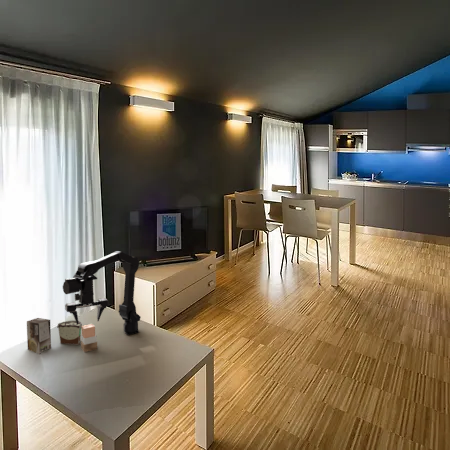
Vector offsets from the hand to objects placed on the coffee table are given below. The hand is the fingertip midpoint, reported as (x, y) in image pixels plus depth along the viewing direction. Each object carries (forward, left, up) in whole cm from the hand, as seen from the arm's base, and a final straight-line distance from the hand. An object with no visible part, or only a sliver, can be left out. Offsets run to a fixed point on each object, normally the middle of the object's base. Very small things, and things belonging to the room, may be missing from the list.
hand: (87, 322), depth 176 cm
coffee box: (+20, -14, -15) cm, 28 cm away
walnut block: (0, 0, -13) cm, 13 cm away
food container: (+5, -13, -13) cm, 19 cm away
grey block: (0, 0, -9) cm, 9 cm away
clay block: (0, 0, -6) cm, 6 cm away
